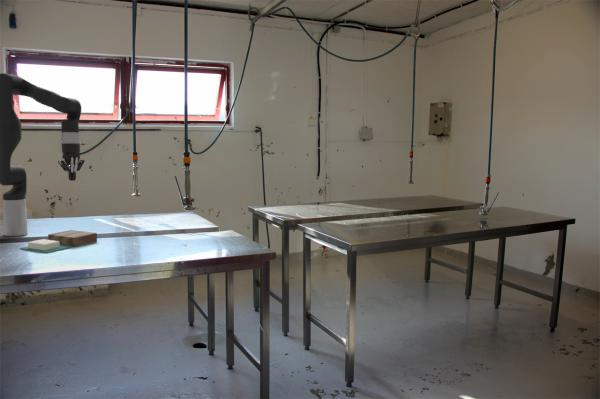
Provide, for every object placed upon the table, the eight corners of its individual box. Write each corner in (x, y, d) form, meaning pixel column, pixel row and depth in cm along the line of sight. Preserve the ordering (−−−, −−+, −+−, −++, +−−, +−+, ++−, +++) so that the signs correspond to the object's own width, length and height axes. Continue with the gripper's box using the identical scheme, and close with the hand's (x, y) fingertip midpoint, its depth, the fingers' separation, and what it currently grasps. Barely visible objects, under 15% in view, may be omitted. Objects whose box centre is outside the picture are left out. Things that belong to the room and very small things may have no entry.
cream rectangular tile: (43, 239, 197) (43, 244, 198) (27, 242, 191) (28, 248, 191) (59, 241, 194) (59, 247, 194) (44, 244, 187) (44, 250, 187)
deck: (48, 243, 203) (47, 234, 203) (71, 238, 214) (71, 230, 213) (74, 246, 197) (74, 237, 196) (97, 241, 208) (96, 233, 207)
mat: (20, 249, 191) (20, 248, 191) (46, 243, 202) (46, 242, 202) (47, 253, 185) (47, 252, 185) (72, 247, 196) (72, 246, 196)
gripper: (77, 142, 217) (78, 179, 219) (52, 142, 205) (53, 181, 207) (88, 142, 214) (90, 180, 216) (64, 142, 202) (65, 181, 204)
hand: (72, 180), depth 211 cm, fingers closed
